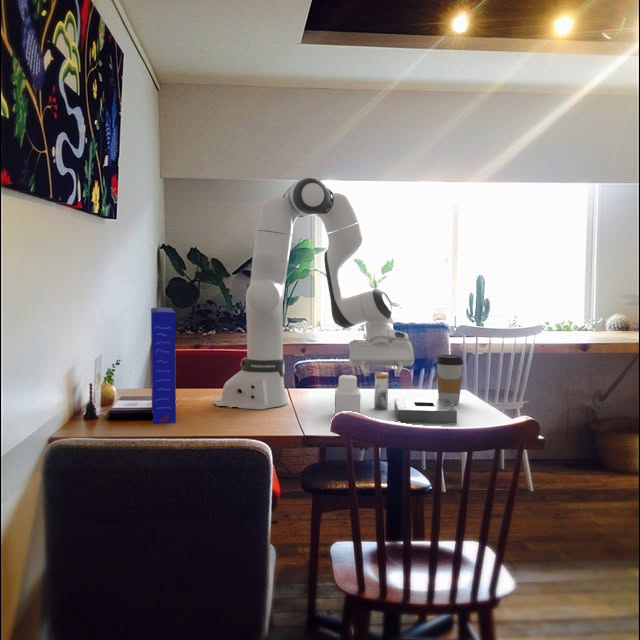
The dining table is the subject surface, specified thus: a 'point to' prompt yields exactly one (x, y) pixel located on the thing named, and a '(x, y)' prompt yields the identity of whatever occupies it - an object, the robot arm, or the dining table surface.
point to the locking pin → (381, 391)
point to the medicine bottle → (347, 394)
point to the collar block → (425, 410)
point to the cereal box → (163, 365)
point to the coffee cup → (449, 377)
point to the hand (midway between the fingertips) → (381, 375)
